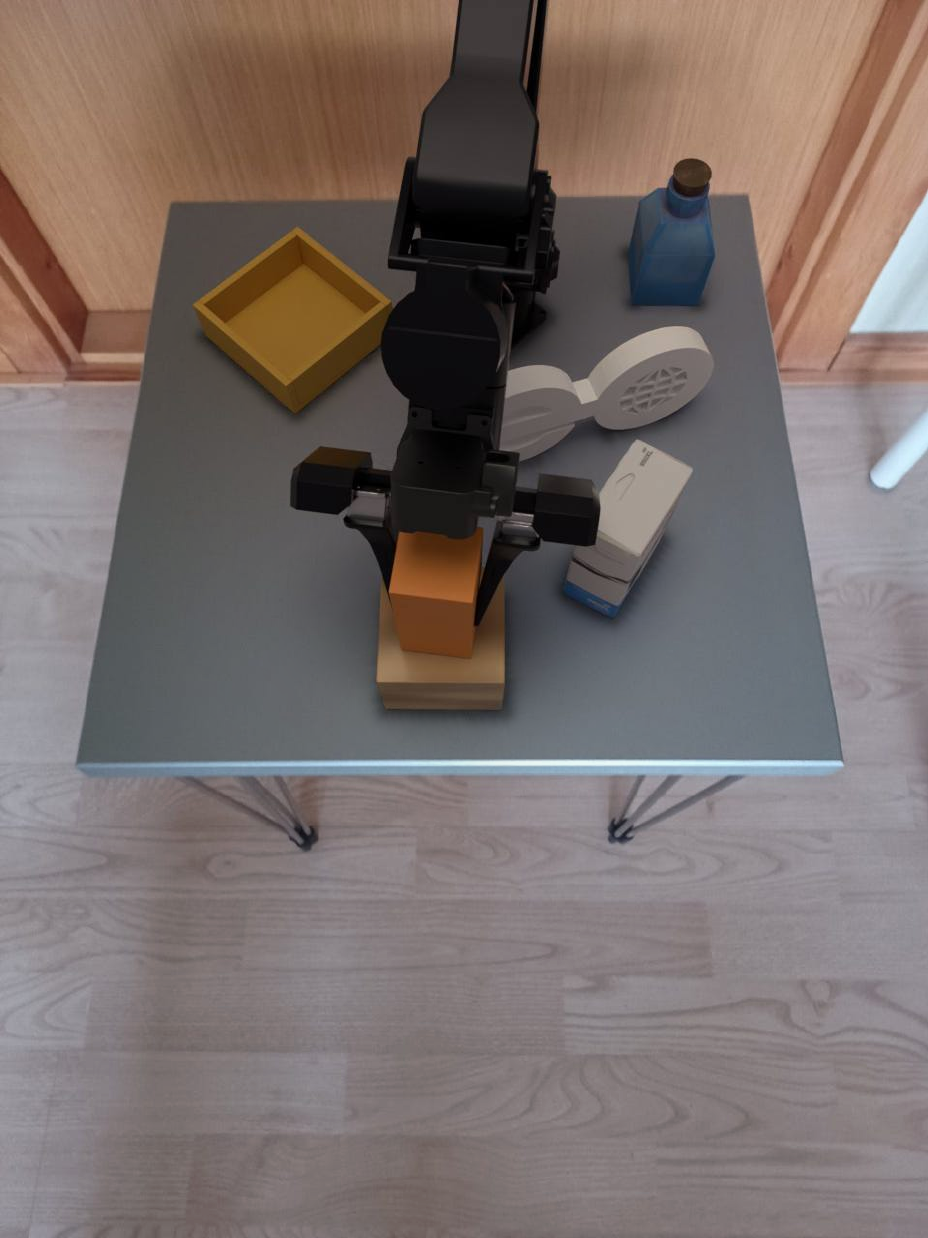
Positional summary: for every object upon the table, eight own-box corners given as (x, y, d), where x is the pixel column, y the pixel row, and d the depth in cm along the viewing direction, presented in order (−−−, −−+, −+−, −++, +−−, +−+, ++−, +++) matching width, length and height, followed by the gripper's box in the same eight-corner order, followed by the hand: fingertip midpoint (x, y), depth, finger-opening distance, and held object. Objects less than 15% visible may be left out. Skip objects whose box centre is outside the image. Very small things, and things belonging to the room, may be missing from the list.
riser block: (390, 601, 70) (381, 565, 64) (501, 602, 70) (504, 565, 64) (385, 709, 67) (375, 682, 61) (501, 710, 67) (505, 683, 60)
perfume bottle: (698, 305, 81) (734, 201, 70) (631, 305, 81) (657, 200, 70) (692, 253, 83) (726, 144, 72) (627, 253, 83) (652, 144, 72)
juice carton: (411, 584, 63) (401, 516, 53) (480, 593, 63) (483, 526, 52) (401, 649, 61) (388, 592, 51) (471, 658, 61) (472, 603, 51)
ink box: (613, 622, 70) (640, 559, 59) (559, 592, 71) (576, 524, 60) (662, 540, 72) (697, 465, 61) (609, 512, 73) (634, 434, 62)
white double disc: (686, 390, 78) (716, 312, 68) (696, 409, 77) (728, 333, 67) (452, 457, 75) (450, 386, 66) (460, 478, 74) (459, 410, 65)
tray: (305, 259, 83) (297, 226, 79) (395, 332, 80) (391, 301, 76) (205, 335, 80) (192, 304, 76) (295, 414, 77) (285, 385, 73)
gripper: (261, 381, 45) (260, 652, 51) (624, 425, 43) (577, 696, 50) (317, 355, 55) (311, 584, 61) (613, 389, 54) (576, 619, 60)
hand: (436, 619), depth 58 cm, fingers closed on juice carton, 5 cm apart
